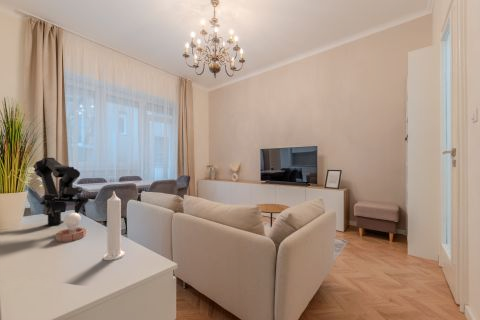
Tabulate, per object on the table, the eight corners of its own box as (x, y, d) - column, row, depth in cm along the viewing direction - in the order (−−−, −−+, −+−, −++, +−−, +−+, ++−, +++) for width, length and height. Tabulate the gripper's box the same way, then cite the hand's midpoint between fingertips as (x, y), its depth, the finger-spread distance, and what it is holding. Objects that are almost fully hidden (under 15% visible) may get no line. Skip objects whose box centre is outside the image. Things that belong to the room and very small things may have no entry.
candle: (115, 261, 81) (115, 193, 80) (98, 259, 82) (98, 192, 81) (128, 253, 87) (128, 190, 87) (113, 251, 89) (113, 189, 88)
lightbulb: (84, 234, 107) (84, 211, 107) (73, 238, 100) (73, 214, 100) (71, 233, 107) (72, 210, 107) (60, 238, 101) (60, 214, 101)
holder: (63, 235, 107) (63, 228, 107) (88, 232, 110) (88, 226, 110) (52, 243, 97) (52, 236, 97) (80, 240, 100) (80, 233, 100)
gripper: (49, 177, 104) (48, 208, 97) (93, 182, 119) (94, 209, 112) (40, 188, 108) (38, 219, 101) (83, 192, 123) (83, 218, 116)
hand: (65, 216), depth 107 cm, fingers open, 9 cm apart
